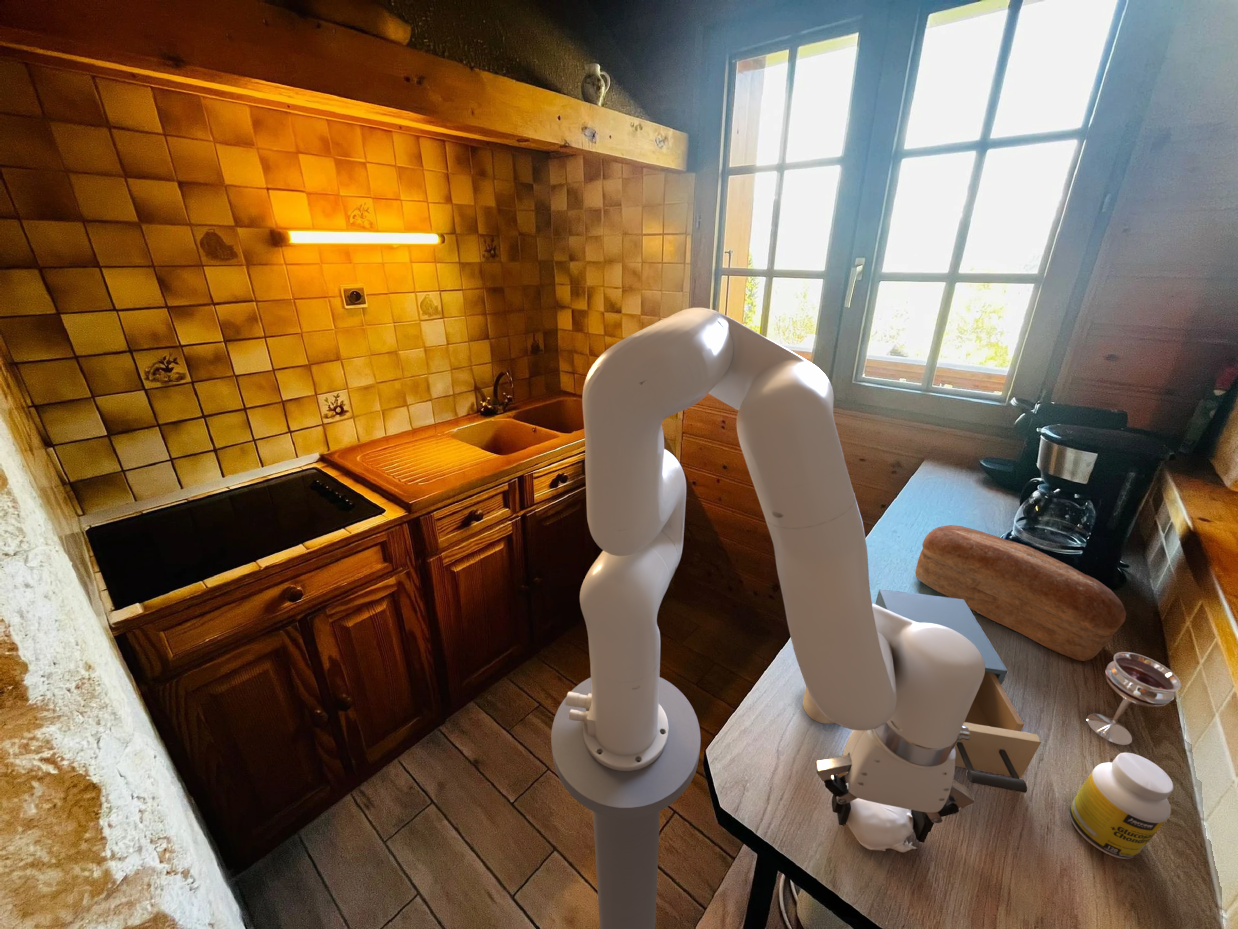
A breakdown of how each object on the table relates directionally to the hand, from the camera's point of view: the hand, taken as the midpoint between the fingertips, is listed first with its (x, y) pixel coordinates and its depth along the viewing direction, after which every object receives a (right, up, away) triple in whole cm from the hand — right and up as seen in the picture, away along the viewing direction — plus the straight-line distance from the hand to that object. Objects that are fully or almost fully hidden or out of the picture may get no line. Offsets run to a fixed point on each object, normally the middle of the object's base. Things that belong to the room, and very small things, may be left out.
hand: (877, 820), depth 60 cm
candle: (-1, +6, +15) cm, 17 cm away
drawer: (+17, +5, +10) cm, 20 cm away
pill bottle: (+27, -1, 0) cm, 28 cm away
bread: (+42, +16, +35) cm, 57 cm away
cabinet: (+20, +10, +22) cm, 31 cm away
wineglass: (+41, +5, +12) cm, 43 cm away
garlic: (0, -1, +1) cm, 1 cm away
